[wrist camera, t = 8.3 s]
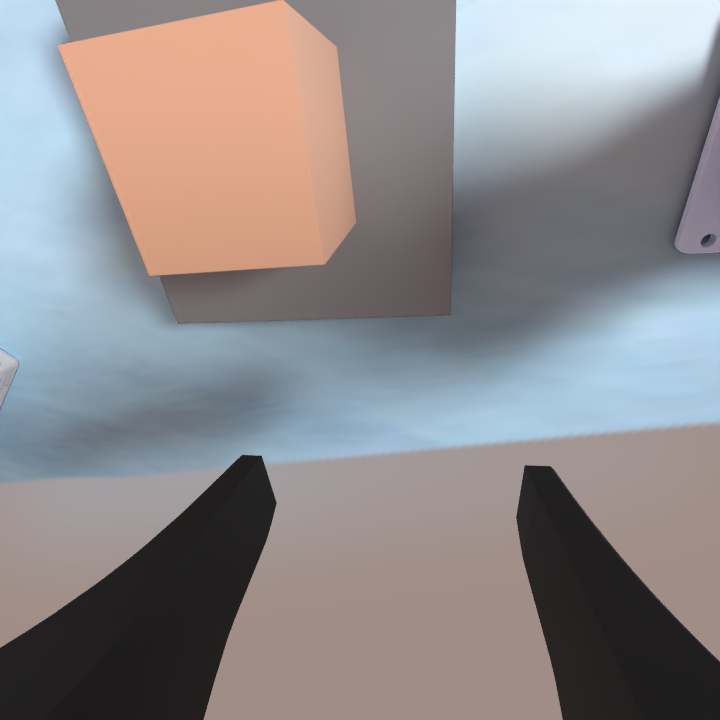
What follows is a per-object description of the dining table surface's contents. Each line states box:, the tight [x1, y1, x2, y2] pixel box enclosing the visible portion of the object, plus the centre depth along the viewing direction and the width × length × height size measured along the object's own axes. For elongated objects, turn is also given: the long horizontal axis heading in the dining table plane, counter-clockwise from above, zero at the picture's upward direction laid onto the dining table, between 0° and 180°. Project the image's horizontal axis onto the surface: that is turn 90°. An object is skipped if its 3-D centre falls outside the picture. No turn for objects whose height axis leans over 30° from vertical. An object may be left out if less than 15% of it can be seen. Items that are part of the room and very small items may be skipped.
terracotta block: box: [57, 0, 356, 276], centre depth 11 cm, size 5×5×5 cm
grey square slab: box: [55, 0, 456, 324], centre depth 15 cm, size 12×12×4 cm
